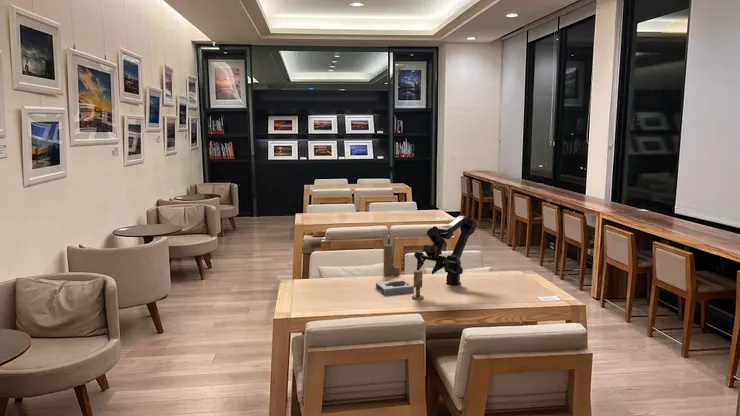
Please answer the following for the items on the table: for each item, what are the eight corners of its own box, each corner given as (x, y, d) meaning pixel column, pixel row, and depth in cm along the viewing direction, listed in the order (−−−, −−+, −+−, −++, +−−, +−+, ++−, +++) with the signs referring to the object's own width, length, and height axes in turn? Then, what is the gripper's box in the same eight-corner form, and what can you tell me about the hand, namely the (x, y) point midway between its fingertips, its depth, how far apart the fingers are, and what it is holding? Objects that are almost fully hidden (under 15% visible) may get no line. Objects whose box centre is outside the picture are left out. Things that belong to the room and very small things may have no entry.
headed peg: (425, 297, 275) (426, 270, 273) (420, 300, 270) (421, 273, 268) (415, 295, 278) (415, 269, 276) (409, 298, 273) (410, 271, 271)
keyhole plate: (404, 285, 297) (404, 279, 296) (413, 291, 284) (413, 285, 284) (375, 287, 291) (375, 282, 291) (384, 294, 279) (384, 288, 279)
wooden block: (398, 273, 319) (398, 244, 317) (399, 275, 315) (399, 245, 312) (383, 274, 319) (383, 244, 316) (384, 276, 314) (384, 245, 312)
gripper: (416, 236, 284) (403, 260, 277) (446, 241, 272) (433, 266, 265) (424, 248, 291) (412, 272, 284) (454, 253, 279) (442, 278, 272)
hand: (424, 272), depth 276 cm, fingers open, 9 cm apart
